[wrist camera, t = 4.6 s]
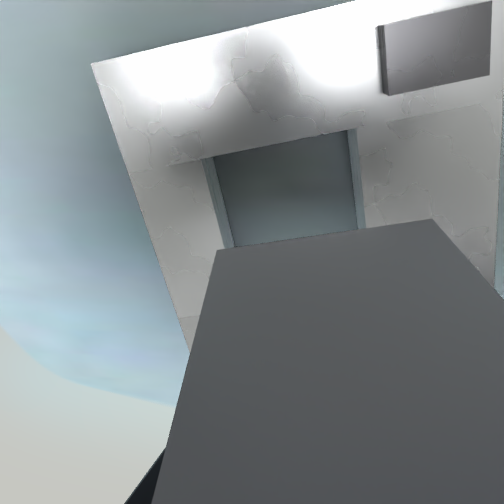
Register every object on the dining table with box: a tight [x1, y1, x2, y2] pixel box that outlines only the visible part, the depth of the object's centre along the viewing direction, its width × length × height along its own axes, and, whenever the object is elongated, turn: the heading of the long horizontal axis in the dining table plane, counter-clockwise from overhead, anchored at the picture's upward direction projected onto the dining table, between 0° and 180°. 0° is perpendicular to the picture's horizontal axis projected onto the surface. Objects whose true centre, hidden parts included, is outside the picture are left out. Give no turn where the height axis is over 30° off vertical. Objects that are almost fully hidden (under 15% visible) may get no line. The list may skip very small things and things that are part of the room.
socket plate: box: [91, 0, 504, 352], centre depth 17 cm, size 14×13×3 cm
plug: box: [152, 219, 504, 504], centre depth 6 cm, size 5×4×7 cm
